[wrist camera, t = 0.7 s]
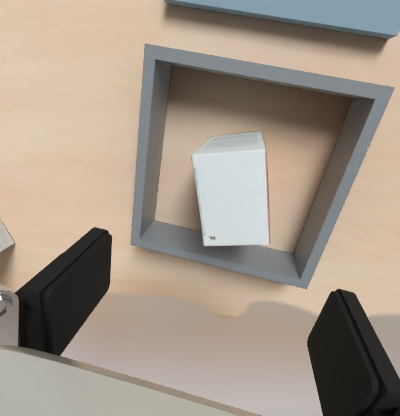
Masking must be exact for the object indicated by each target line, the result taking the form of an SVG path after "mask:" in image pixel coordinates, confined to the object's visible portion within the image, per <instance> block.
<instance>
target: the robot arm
mask: <svg viewBox="0 0 400 416" xmlns="http://www.w3.org/2000/svg"><path fill="white" fill-rule="evenodd" d="M111 247H112V236H111V235H110V234H109V232H108V231H107V230H104V229H100V228H96V227H94V228H92V229H91V230H90V231H89V232H88V233H87V234H85V235H84V236H83V237H82V238H81V239H79V240H78V241H77V242H76V243H75V244H74V245H72V246H71V247H70V248H69V249H68V250H66V251H65V252H64V253H62V254H61V255H59V256H58V257H57V258H56V259H55V260H53V261H52V262H51V263H50V264H49V265H48V266H46V267H45V268H44V269H43V270H42V271H40V272H39V273H38V274H37V275H36V276H34V277H33V278H32V279H31V280H30V281H29V282H27V283H26V284H25V285H24V286H23V287H21V288H20V289H19V290H18V291H17V292H15V293H13V292H10V291H4V290H0V416H260V415H257V414H254V413H250V412H247V411H244V410H241V409H238V408H234V407H231V406H227V405H224V404H221V403H218V402H215V401H211V400H208V399H205V398H201V397H198V396H194V395H191V394H188V393H184V392H181V391H178V390H175V389H171V388H168V387H164V386H161V385H158V384H155V383H151V382H148V381H145V380H141V379H138V378H134V377H131V376H128V375H124V374H121V373H117V372H114V371H111V370H107V369H104V368H100V367H97V366H94V365H90V364H87V363H83V362H79V361H76V360H72V359H69V358H65V357H61V356H60V355H61V354H62V352H63V351H64V350H65V348H66V347H67V345H68V344H69V343H70V341H71V340H72V339H73V337H74V336H75V334H76V333H77V332H78V330H79V329H80V328H81V326H82V325H83V324H84V322H85V321H86V319H87V318H88V316H89V315H90V314H91V313H92V311H93V309H94V308H95V307H96V306H97V304H98V303H99V302H100V300H101V299H102V298H103V296H104V295H105V293H106V292H107V290H108V288H109V285H110V270H111ZM307 346H308V351H309V355H310V360H311V364H312V369H313V373H314V377H315V382H316V385H317V391H318V395H319V400H320V404H321V408H322V413H323V416H400V379H399V377H398V375H397V373H396V371H395V370H394V367H393V365H392V363H391V362H390V360H389V358H388V356H387V354H386V352H385V350H384V348H383V347H382V345H381V342H380V341H379V339H378V337H377V335H376V333H375V331H374V329H373V327H372V326H371V323H370V322H369V320H368V318H367V316H366V314H365V312H364V310H363V308H362V306H361V304H360V302H359V300H358V299H357V297H356V295H355V293H353V292H349V291H345V290H341V289H337V290H336V291H335V292H334V291H332V292H331V293H330V295H329V297H328V299H327V301H326V303H325V305H324V307H323V309H322V311H321V313H320V315H319V317H318V319H317V321H316V323H315V325H314V327H313V329H312V331H311V333H310V335H309V337H308V341H307Z"/></svg>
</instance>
